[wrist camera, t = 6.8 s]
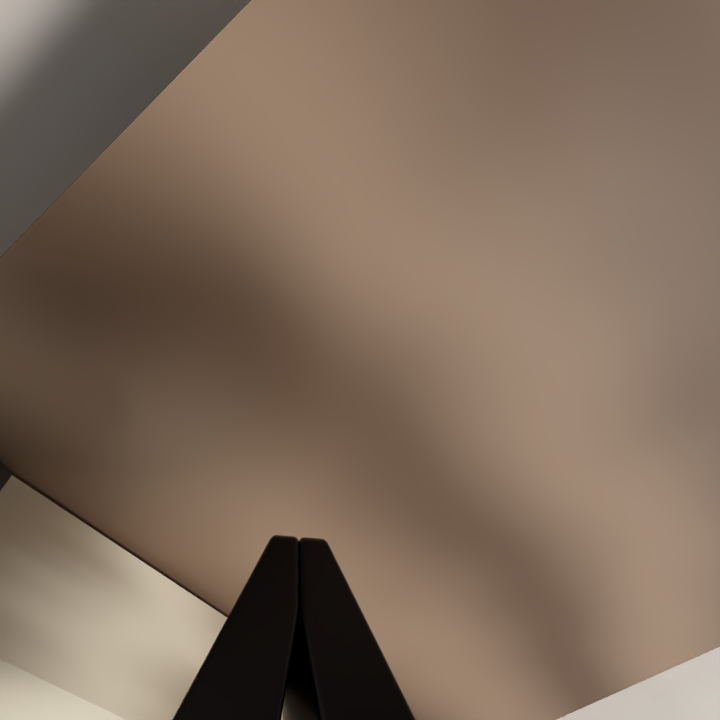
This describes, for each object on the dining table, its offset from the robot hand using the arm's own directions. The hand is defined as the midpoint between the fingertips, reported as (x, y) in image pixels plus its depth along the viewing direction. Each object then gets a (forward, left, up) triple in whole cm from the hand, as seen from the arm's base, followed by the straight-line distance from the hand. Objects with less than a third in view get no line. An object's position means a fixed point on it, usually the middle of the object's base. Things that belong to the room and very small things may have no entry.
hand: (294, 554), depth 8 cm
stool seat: (0, -4, -5) cm, 7 cm away
